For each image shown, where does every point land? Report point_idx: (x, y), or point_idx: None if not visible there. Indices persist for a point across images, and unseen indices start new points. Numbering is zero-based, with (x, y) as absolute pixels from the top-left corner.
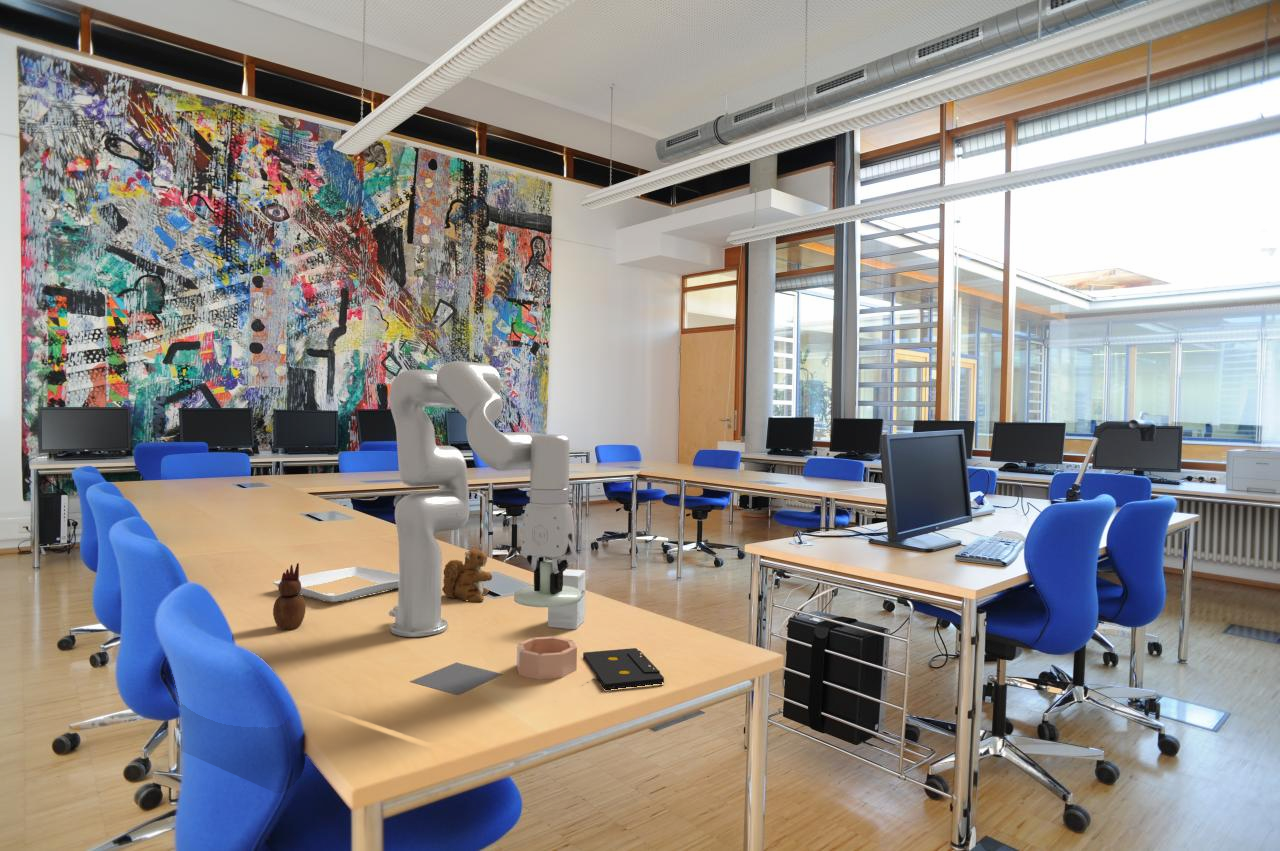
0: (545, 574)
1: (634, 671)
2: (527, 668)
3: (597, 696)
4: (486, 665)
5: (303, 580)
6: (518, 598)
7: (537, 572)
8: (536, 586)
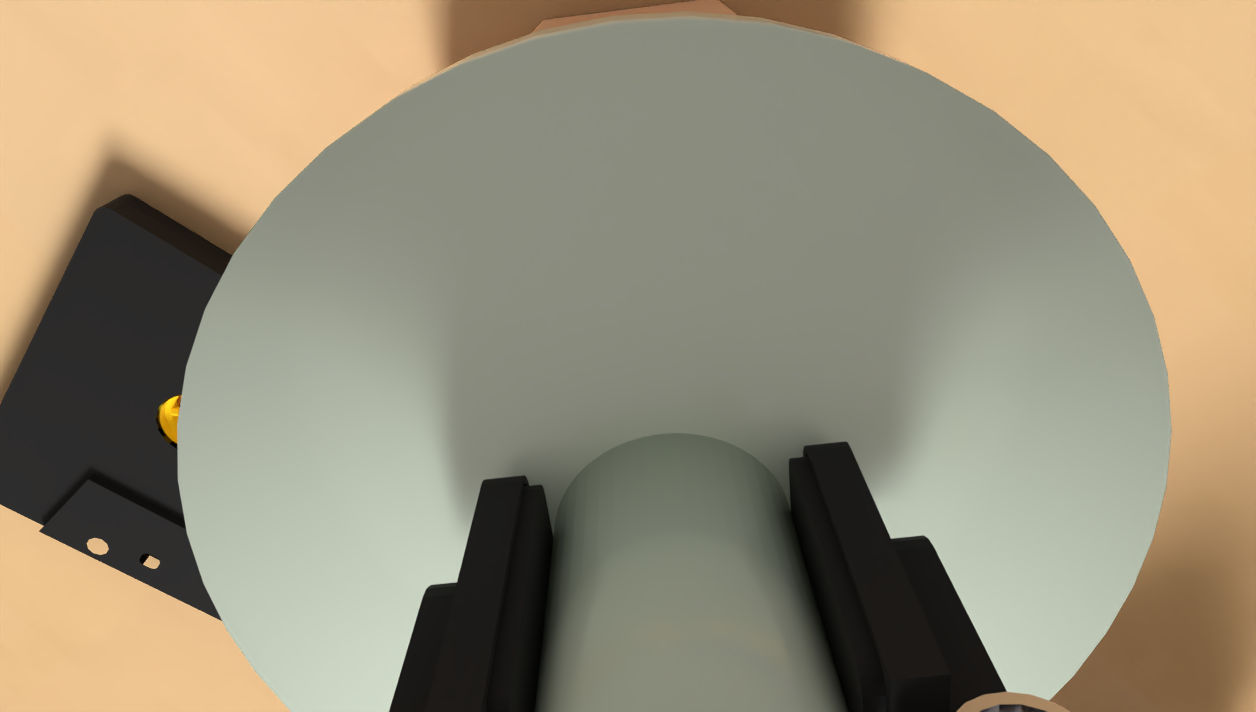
0: (622, 671)
1: (158, 464)
2: (641, 13)
3: (81, 92)
4: (1083, 23)
5: None
6: (846, 44)
7: (864, 675)
8: (821, 490)
